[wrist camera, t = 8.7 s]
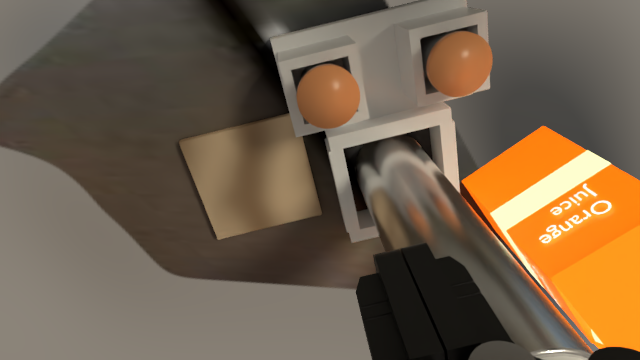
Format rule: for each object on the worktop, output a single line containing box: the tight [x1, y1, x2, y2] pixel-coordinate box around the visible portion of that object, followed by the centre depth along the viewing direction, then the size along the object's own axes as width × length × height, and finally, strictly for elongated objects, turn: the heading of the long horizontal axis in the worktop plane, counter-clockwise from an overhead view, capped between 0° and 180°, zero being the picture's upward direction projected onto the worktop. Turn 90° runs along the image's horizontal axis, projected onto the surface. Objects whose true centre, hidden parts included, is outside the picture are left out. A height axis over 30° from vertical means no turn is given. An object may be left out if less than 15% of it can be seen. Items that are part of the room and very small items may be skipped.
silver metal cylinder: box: [354, 134, 593, 360], centre depth 27 cm, size 6×6×25 cm
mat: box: [179, 113, 322, 240], centre depth 38 cm, size 10×10×1 cm
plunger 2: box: [420, 31, 492, 97], centre depth 30 cm, size 4×4×5 cm
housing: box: [270, 0, 490, 243], centre depth 34 cm, size 15×18×5 cm
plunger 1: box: [296, 61, 360, 129], centre depth 30 cm, size 4×4×5 cm
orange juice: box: [462, 126, 640, 352], centre depth 32 cm, size 8×9×20 cm
